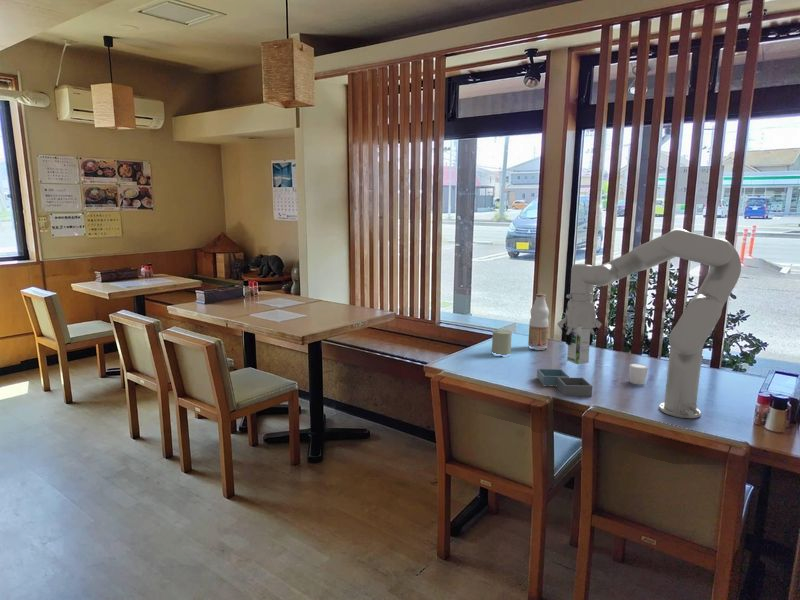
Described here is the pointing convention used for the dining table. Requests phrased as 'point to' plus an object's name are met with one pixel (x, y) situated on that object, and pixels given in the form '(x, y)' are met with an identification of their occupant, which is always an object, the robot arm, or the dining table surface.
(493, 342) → the can
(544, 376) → the slate bin
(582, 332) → the syrup box
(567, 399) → the dining table surface
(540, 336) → the fruit juice
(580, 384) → the charcoal bin
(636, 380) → the white cup
